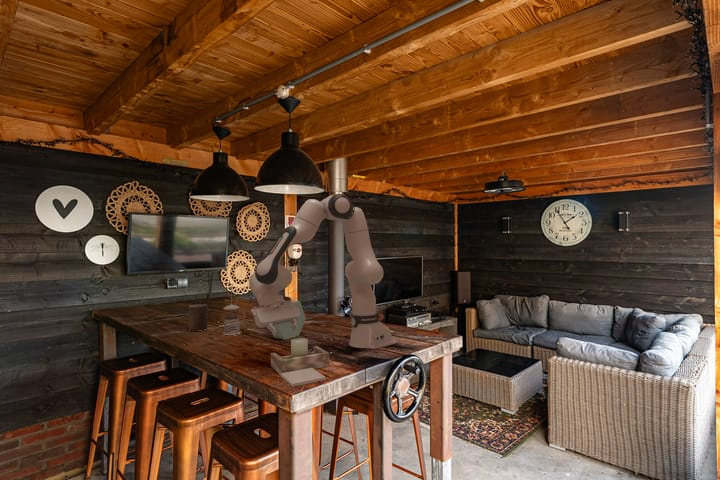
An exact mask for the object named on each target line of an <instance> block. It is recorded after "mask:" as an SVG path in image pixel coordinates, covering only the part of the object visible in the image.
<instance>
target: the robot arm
mask: <svg viewBox="0 0 720 480" xmlns="http://www.w3.org/2000/svg"><path fill="white" fill-rule="evenodd" d="M323 220H326V221H336V220H337V221H340V222H341V225H342V226H343V233H344V238H345V244H346V249H347V252H349V253H348V254H350V255H351V258H352V261H350V262H348V263H347V264H346V265H345V269H344V274H345V276H346V278H347V281H348V286H349V290H350V294H351V315H350V316H351V317H350V319H351V321H350V322H351V332H350V338H349V343H348V345H349V346H350V347H352V348H357V349H371V350H375V349H380V348H385V347H387V346H392V345H395V344H398V341H397V340H396V338H394V337H392V330H391V329H390V328H389V327H388V326H386V325H385V324H384V323H383V322H381V321H380V320H383V319H384V317H385V316H384V315H383V314H381V313H380V314H378V313H377V305H376V304H377V303H376V302H377V301H376V299H377V298H376V295H375V293H374V291H373V288H372V285H373V286H374V285H376V284H379V283H380V282H381V281H382V279H383V277H384V269H383V266H382V265H381V264H380V263H379V262H378V259H377V257H376V255H375V252H374V250H373V247H372V243H371V238H370V234H369V229H368V228H369V227H368V222H367V220H366V216H365V214H364V211H363V210H362V209H361V208H360V207H357V206H355V205H354V204H353V203H352V201H351V198H350V197H349V196H347V195H346V194H343V193H335V194H331V195H329V196H327V197H324V198H323V199H322V200H320V201H319V200H318V199H314V198H310V199H307V200H306V201H305V202H304V203H303V204H302V205H301V207H300V209H299V210H298V212H297V213H296V215H295V217H294V218H293V220H292V221H291V223H290V225H289V226H287V227H285V228H284V229H283V230H282V231H281V233H280V234H279V236H277V238H276V240H275V241H274V243H273V244H272V246H271V247H269V250H268V251H267V252H266V254H265V255H264V257H263V258H261V259H260V260H259V262H258V263H257V264H256V266H255V269H254V272H253V273H252V274H251V275H250V277H249V279H248V284H249V285H248V286H249V288H250V290H251V293H252V294H253V296H254V298H255V299H256V301H257V304H258V306H253V307H252V308H251V310H250V313H251V314H252V316H253V319H254V322H255V324H256V327H257V328H259V329H264V328H267V330H269V331H270V332H271V331H272V332H273V334H274V335H275V334H278V333H279V331H278V329H277V328H274V327H273V326H274V325H278V324H283V323H288V322H291V324H293V326H292V327H291V328H292V329H293V330H297V328H298V327H297V325H296V321H297V320H298V319H299V318H300V316H301V313H300V311H299V309H298V308H297V306H296V305H295V304H294V303H293V302H291V301H293V299H292V297H290V296H285V295H281V294H278V293H280V292H281V291H283V290H285V289H286V288H288V287H290V285H291V283H292V280H293V273H292V271H291V270H290V269H289V268H287V267H286V266H284V265H281V260H282V259H283V257H284V256H285V255H286V253H287V251H288V250H289V248H290V247H291V246H292V245H294V244H297V243H299V244H302V243H307V242H309V241H312V239H313V238H314V236H316V233H317V232H318V229H319V227H320V225H321V223H322V222H323ZM272 332H271V333H272ZM273 334H272V335H273Z"/></svg>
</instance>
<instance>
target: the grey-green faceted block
mask: <svg viewBox="0 0 720 480" xmlns="http://www.w3.org/2000/svg"><path fill="white" fill-rule="evenodd" d="M291 302H293V303H294V304H295V305H296V306H297V308H298V309H299V311H300V313H301V316H300V318H299V319H298V320H297V321H296V325H297V327H298V328H297V330H293V329H292V328H291V327H292V326H293V324H291V322H288V323H283V324H278V325H274V326H273V327H274V328H277V329H278V331H279V333H278V334H275V335H274V334H273V332H272V331H270V332H271V333H272V337H273V338H274V339H279V340H284V341H285V340H289V339H293V338H297V337H299V336H300V334H301V332H302V328H303V327H304V323H305V322H306V320H307V319H306V318H307V317H306V315H305V311H304V307H303V306H302V302H301V301H300V300H299V301H298V300H292V301H291Z"/></svg>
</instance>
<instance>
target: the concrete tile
mask: <svg viewBox="0 0 720 480" xmlns="http://www.w3.org/2000/svg"><path fill="white" fill-rule="evenodd" d="M280 378H282V379H283V380H284V381H285V382H286V383H287V384H289V385H290V386H291V387H292V388H294V387H298V386H304V385H307V384H308V385H309V384H312V383H318V381H319V382H323V380H324V381H326V376H325V375H323V374H322V373H320V372H319V371H318V370H316V369H313V368H308V369H302V370H297V371H291V372H286V373H281V375H280Z"/></svg>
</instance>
